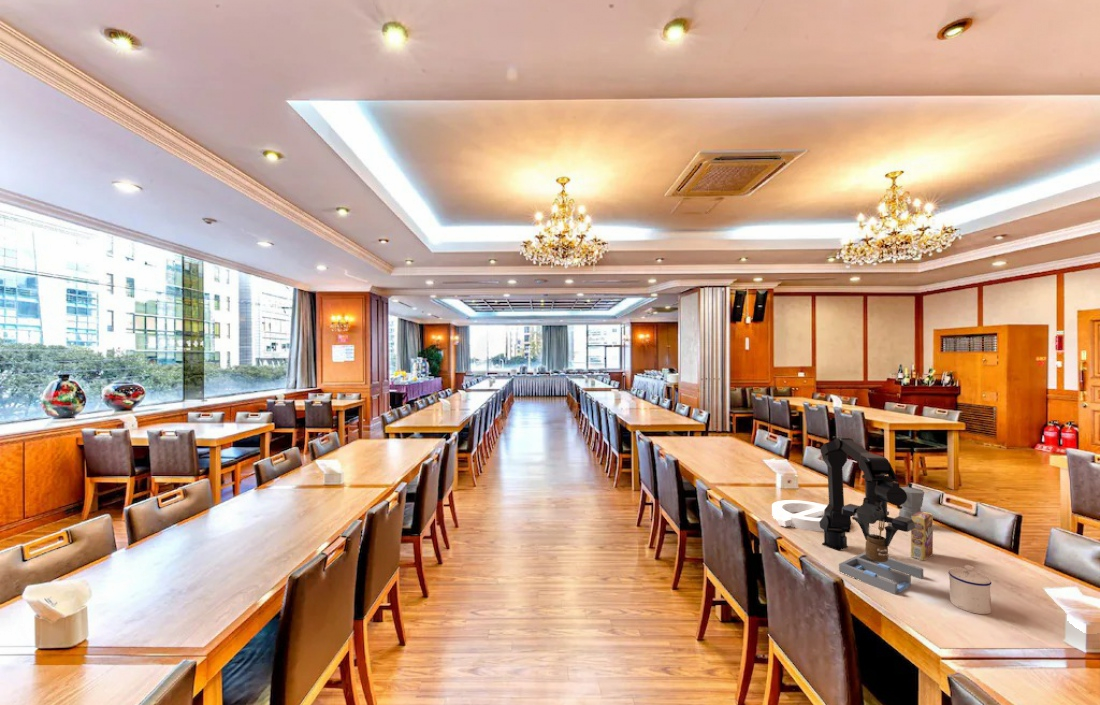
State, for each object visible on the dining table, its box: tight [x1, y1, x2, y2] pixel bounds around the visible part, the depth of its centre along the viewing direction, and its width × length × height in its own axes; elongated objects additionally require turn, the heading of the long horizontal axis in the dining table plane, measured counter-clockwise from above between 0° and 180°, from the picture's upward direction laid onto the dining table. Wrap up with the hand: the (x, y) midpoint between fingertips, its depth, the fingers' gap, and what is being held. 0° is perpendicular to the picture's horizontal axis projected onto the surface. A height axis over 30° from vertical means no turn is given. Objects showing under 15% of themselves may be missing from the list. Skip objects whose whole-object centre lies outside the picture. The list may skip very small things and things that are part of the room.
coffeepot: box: [896, 482, 925, 519], centre depth 190 cm, size 15×9×18 cm, turn 103°
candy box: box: [910, 510, 934, 561], centre depth 160 cm, size 9×4×15 cm, turn 123°
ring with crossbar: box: [771, 499, 828, 533], centre depth 197 cm, size 28×28×5 cm
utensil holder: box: [865, 521, 889, 562], centre depth 143 cm, size 6×6×12 cm
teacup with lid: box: [947, 564, 992, 615], centre depth 129 cm, size 12×9×12 cm
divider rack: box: [838, 551, 924, 595], centre depth 146 cm, size 16×20×4 cm
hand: (877, 543), depth 143 cm, fingers closed on utensil holder, 5 cm apart
